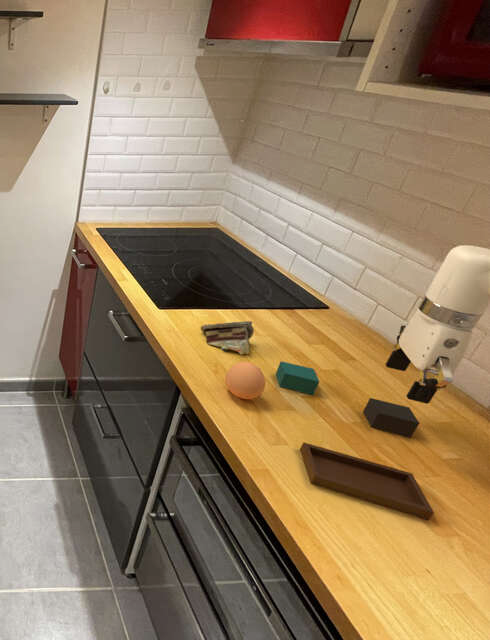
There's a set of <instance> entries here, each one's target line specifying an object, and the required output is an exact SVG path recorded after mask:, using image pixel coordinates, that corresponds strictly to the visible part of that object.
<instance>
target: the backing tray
mask: <svg viewBox="0 0 490 640" xmlns="http://www.w3.org/2000/svg"><path fill="white" fill-rule="evenodd" d="M299 451H300V454H301V457H302V461H303V464H304V467H305V470H306V473H307V476H308V480H309V482H310V484H311V485H314V486H318V487H321V488H324V489H326V490H330V491H333V492H337V493H340V494H343V495H346V496H349V497H352V498H356V499H359V500H361V501H365V502H369V503H372V504H374V505H378V506H381V507H384V508H388V509H391V510H395V511H397V512H401V513H404V514H406V515H411V516H413V517H416V518H420V519H423V520H425V521H430V520H431V518H432V517H433V515H434V514H435V511H434V510H433V508H432V506H431V504H430V503H429V501H428V499H427V497H426V495H425V493H424V492H423V490H422V488H421V487H420V484H419V483H418V481H417V479H416V477H415V476H414V474H413V473H412V472H408V471H405V470H402V469H398V468H395V467H392V466H387V465H384V464H381V463H377V462H374V461H370V460H367V459H363V458H360V457H356V456H353V455H349V454H347V453H343V452H339V451H335V450H332V449H329V448H325V447H322V446H317V445H316V444H315V445H314V444H311V443H308V442H302V444H301V446H300V448H299Z"/></svg>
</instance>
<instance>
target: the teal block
mask: <svg viewBox="0 0 490 640" xmlns="http://www.w3.org/2000/svg"><path fill="white" fill-rule="evenodd" d="M275 378H276V379H277V384H278V386H279V388H282V389H287V390H291V391H295V392H298V393H302V394H307V395H310V396H314V395H315V392H316V390H317V388H318V386H319V383H320V380H319V377H318V375H317V372H316V370H315V368H312V367H307V366H303V365H299V364H295V363H290V362H286V361H282V360H281V361H279V364H278V367H277V369H276V372H275Z"/></svg>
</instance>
